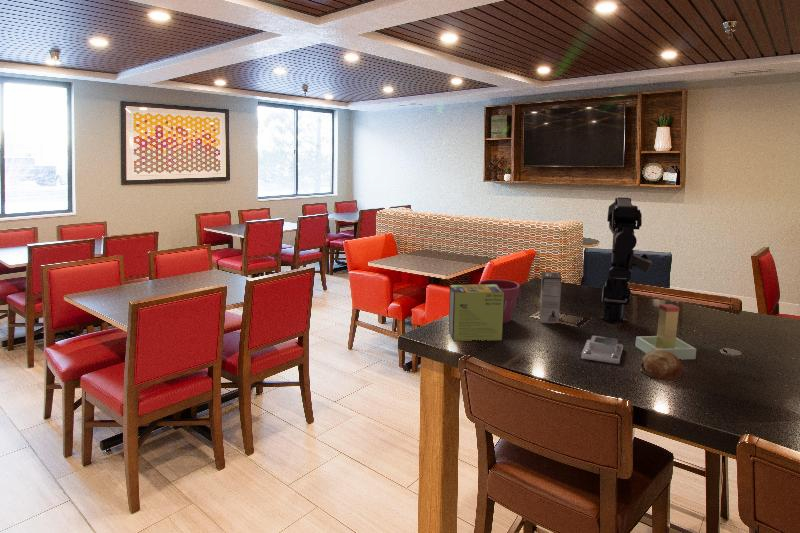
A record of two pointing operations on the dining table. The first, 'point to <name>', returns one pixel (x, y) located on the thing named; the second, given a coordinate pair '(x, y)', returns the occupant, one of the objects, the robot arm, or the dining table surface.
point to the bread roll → (661, 365)
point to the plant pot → (506, 295)
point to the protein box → (476, 312)
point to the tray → (680, 350)
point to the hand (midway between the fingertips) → (618, 295)
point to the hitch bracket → (602, 350)
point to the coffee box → (550, 297)
